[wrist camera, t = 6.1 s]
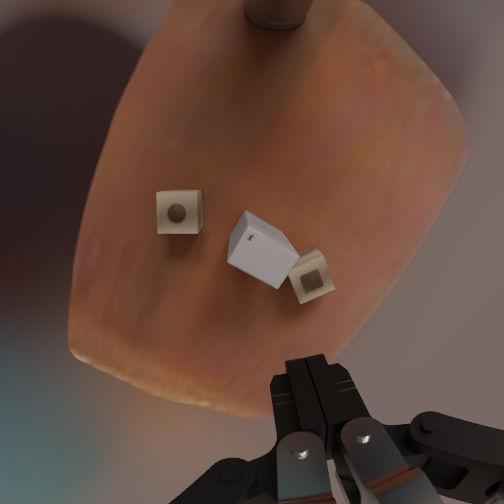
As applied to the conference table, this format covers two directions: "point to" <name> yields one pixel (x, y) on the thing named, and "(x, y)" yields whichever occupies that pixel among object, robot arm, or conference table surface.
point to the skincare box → (261, 250)
